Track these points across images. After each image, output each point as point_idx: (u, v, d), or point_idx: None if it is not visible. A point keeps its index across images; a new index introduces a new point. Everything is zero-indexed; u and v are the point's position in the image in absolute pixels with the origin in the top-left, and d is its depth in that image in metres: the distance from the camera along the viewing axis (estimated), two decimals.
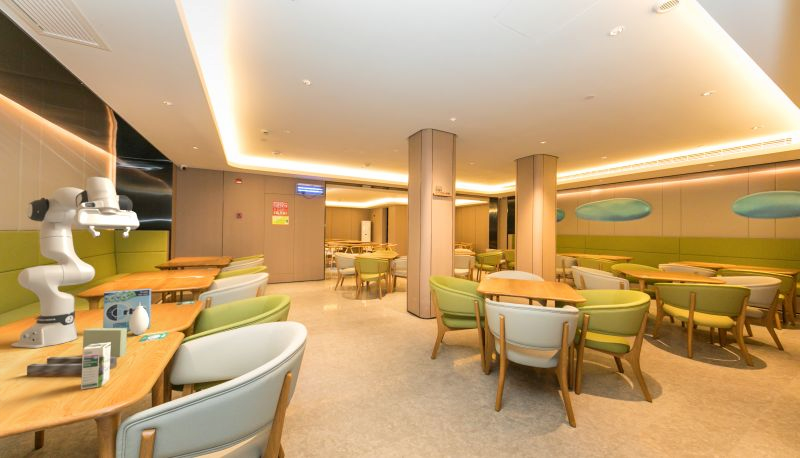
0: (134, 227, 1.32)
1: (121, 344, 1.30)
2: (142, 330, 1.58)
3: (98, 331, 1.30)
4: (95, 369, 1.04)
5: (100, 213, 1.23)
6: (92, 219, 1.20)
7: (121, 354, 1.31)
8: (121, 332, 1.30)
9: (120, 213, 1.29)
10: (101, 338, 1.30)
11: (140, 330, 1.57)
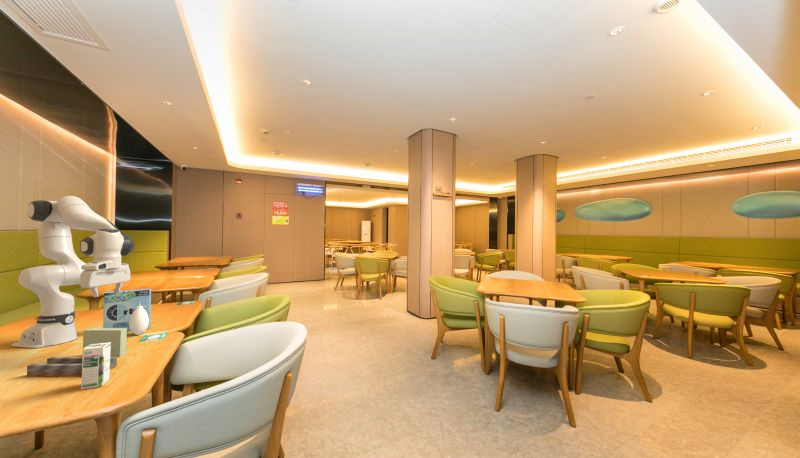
0: (125, 281, 1.40)
1: (121, 344, 1.30)
2: (142, 330, 1.58)
3: (98, 331, 1.30)
4: (95, 369, 1.04)
5: (105, 272, 1.29)
6: (99, 280, 1.26)
7: (121, 354, 1.31)
8: (121, 332, 1.30)
9: (119, 269, 1.36)
10: (101, 338, 1.30)
11: (140, 330, 1.57)
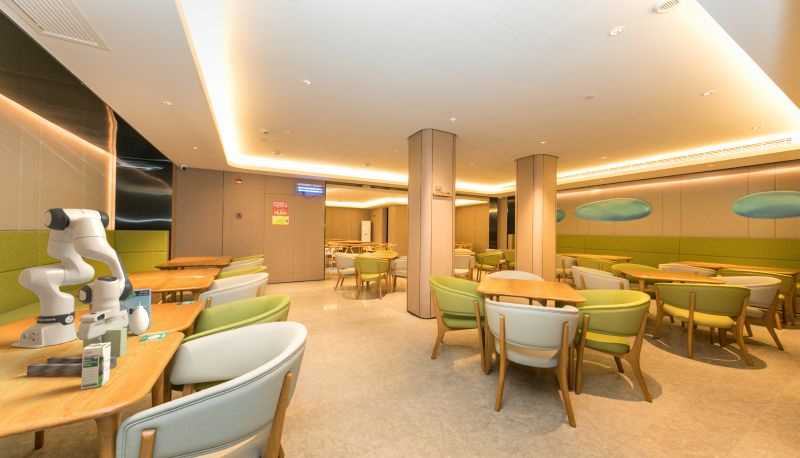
0: None
1: (121, 344, 1.30)
2: (142, 330, 1.58)
3: None
4: (95, 369, 1.04)
5: (104, 321, 1.29)
6: (97, 331, 1.26)
7: (121, 354, 1.31)
8: (121, 332, 1.30)
9: (118, 316, 1.35)
10: (101, 338, 1.30)
11: (140, 330, 1.57)
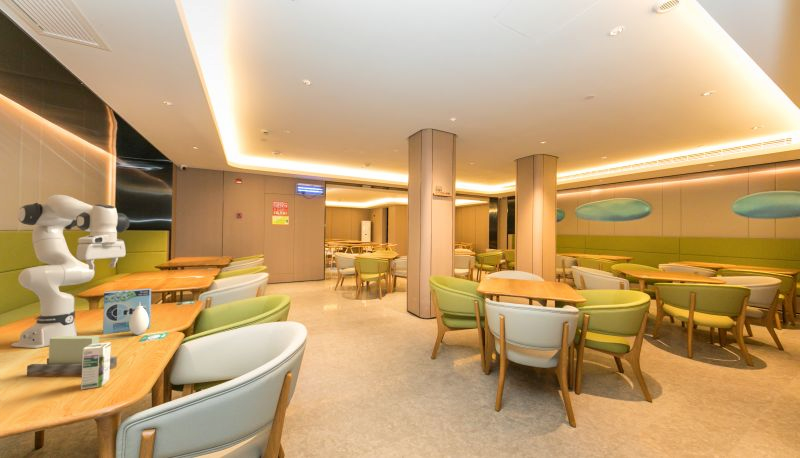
0: None
1: None
2: (142, 330, 1.58)
3: (66, 339, 1.15)
4: (95, 369, 1.04)
5: (101, 246, 1.33)
6: (95, 253, 1.30)
7: None
8: (92, 340, 1.16)
9: (115, 244, 1.40)
10: (69, 347, 1.15)
11: (140, 330, 1.57)
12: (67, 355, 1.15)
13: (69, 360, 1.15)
